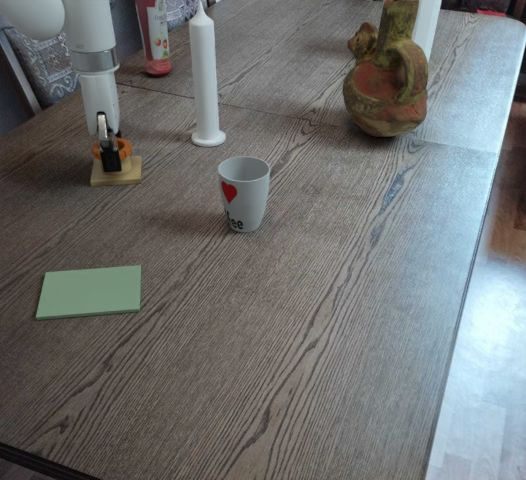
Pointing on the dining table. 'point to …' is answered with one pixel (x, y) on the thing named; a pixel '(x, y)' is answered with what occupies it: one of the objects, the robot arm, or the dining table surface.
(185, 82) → the dining table surface
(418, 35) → the container
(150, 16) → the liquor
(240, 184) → the cup
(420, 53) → the ceramic vessel
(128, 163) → the stand
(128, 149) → the ring
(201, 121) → the candle
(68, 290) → the mat
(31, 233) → the dining table surface
